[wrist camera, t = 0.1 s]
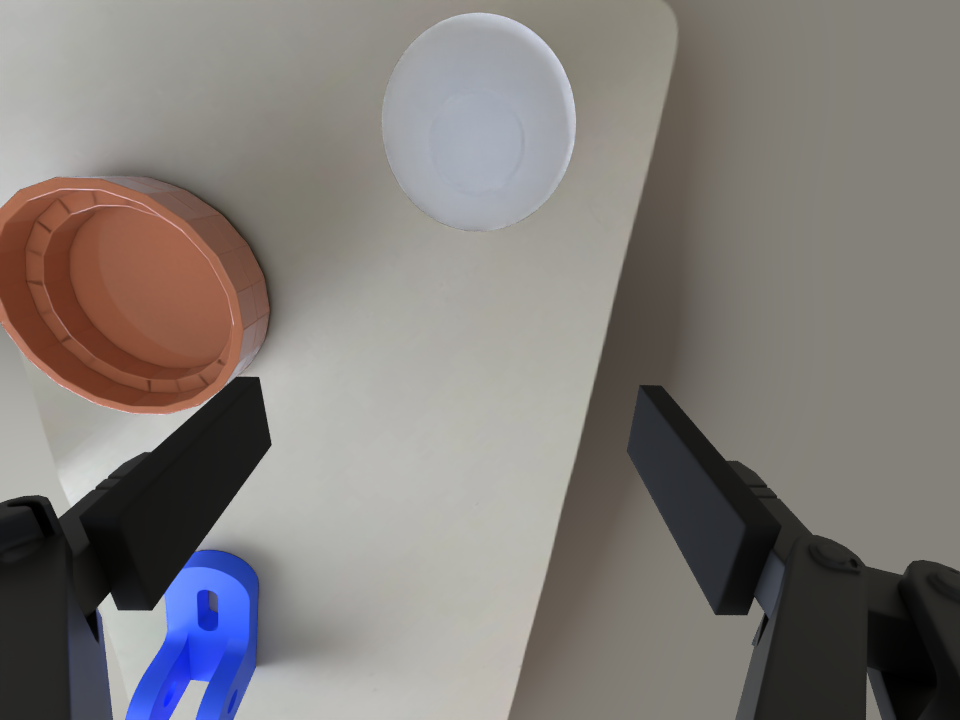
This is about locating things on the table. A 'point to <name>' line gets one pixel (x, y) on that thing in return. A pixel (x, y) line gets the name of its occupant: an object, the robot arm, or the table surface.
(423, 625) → the table surface
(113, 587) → the robot arm
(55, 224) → the bowl
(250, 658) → the bracket
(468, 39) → the cup
